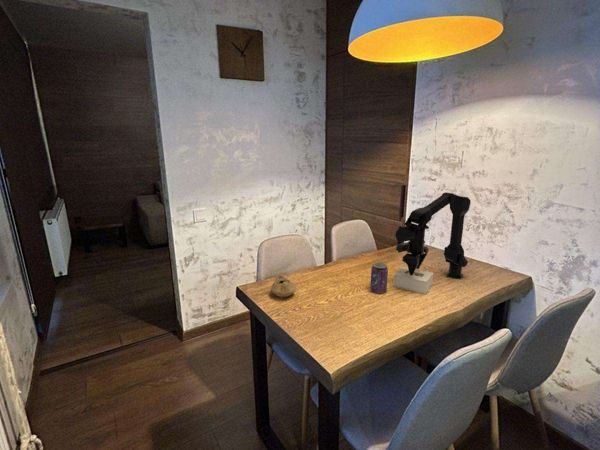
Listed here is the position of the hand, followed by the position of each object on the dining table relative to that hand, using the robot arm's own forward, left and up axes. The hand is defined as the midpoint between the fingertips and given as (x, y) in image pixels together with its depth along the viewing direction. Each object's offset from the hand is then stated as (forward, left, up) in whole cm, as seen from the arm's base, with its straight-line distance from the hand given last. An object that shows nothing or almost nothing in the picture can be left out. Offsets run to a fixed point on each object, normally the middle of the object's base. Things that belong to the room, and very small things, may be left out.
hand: (414, 271), depth 146 cm
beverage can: (+14, -11, -7) cm, 19 cm away
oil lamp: (+41, -44, -7) cm, 61 cm away
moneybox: (0, 0, -7) cm, 7 cm away
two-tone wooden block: (0, 0, -6) cm, 6 cm away
